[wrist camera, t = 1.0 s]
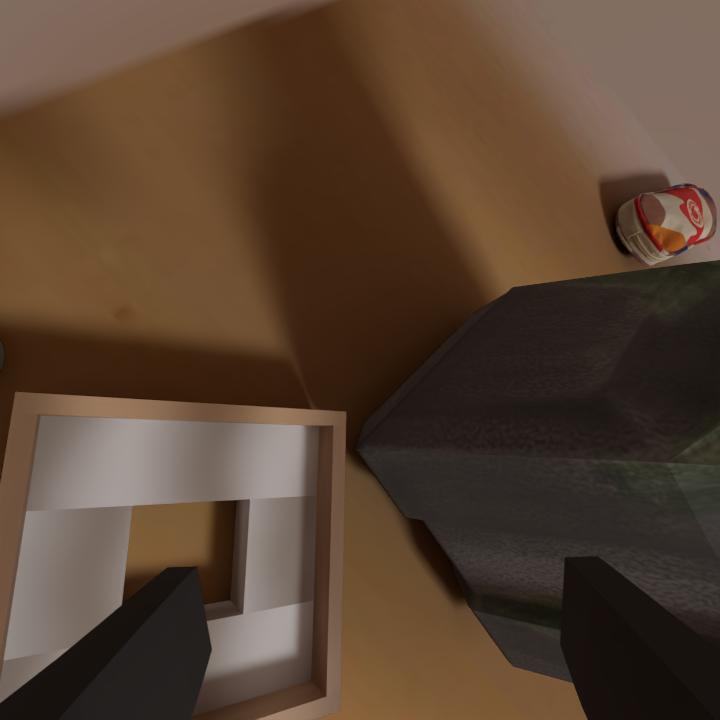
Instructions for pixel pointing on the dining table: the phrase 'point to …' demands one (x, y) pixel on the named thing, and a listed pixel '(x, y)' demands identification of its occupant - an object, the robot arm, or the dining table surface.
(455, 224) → the dining table surface
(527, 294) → the dark faceted flask
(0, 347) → the peg
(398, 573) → the dining table surface
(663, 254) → the pencil case
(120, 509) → the box
